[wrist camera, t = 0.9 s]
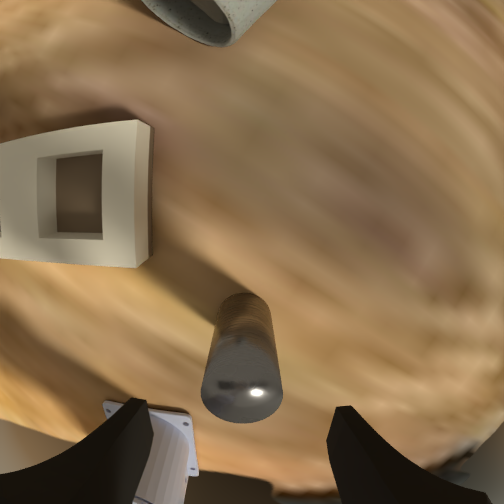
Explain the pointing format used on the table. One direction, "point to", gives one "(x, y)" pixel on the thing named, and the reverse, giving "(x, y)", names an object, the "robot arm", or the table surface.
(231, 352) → the pin
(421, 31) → the table surface
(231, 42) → the ceramic mug
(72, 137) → the board
